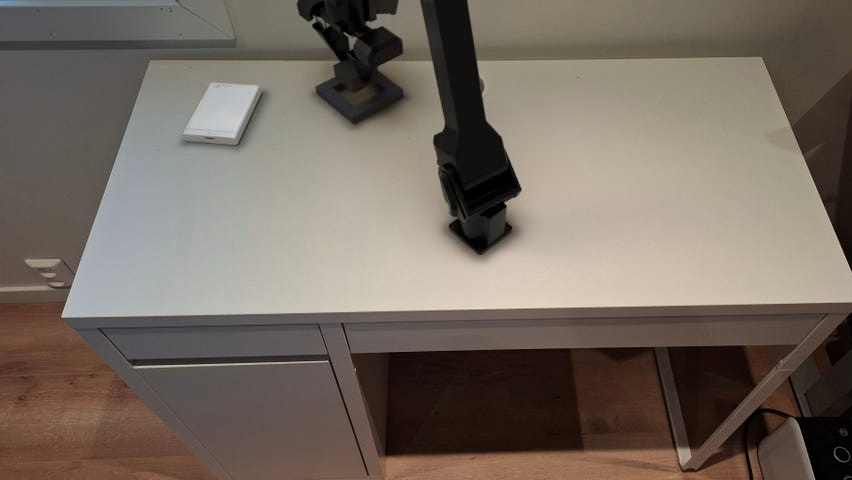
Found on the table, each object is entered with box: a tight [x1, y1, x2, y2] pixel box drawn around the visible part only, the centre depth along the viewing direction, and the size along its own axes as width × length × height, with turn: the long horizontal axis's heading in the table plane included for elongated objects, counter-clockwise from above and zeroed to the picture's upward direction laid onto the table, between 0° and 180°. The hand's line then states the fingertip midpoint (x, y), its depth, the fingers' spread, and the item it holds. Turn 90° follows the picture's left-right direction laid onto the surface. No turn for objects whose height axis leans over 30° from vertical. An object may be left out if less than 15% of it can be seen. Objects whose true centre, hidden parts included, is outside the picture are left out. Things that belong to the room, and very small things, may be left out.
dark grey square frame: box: [314, 70, 405, 126], centre depth 98 cm, size 10×10×2 cm
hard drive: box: [182, 82, 263, 146], centre depth 94 cm, size 2×8×12 cm
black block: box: [332, 58, 379, 94], centre depth 95 cm, size 5×5×2 cm
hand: (356, 74), depth 95 cm, fingers closed on black block, 5 cm apart
